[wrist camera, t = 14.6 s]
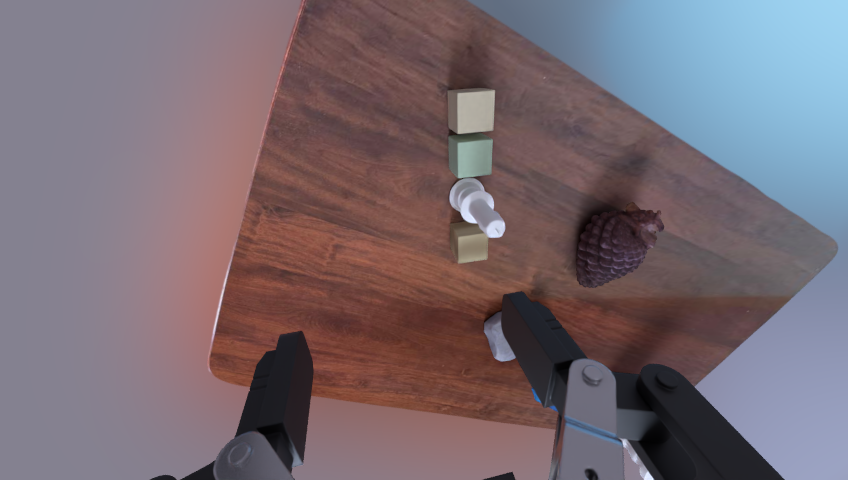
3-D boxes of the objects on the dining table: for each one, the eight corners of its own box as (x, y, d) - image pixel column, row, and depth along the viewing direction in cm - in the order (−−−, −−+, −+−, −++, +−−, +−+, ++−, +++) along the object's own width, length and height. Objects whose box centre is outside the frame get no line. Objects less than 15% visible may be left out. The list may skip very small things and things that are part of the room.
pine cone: (603, 278, 61) (605, 316, 54) (553, 254, 62) (549, 288, 55) (675, 204, 50) (691, 239, 42) (613, 177, 51) (617, 206, 43)
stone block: (477, 313, 62) (490, 354, 65) (485, 326, 57) (499, 369, 60) (534, 290, 62) (544, 331, 65) (547, 301, 58) (558, 345, 61)
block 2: (448, 135, 43) (457, 142, 39) (480, 132, 44) (492, 139, 40) (448, 168, 45) (457, 178, 41) (479, 165, 46) (491, 174, 42)
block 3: (449, 223, 49) (458, 236, 46) (478, 219, 50) (488, 232, 46) (450, 248, 52) (458, 263, 48) (477, 244, 52) (487, 259, 48)
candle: (490, 195, 48) (527, 231, 38) (463, 218, 49) (491, 259, 39) (470, 169, 46) (504, 200, 36) (441, 194, 47) (466, 231, 37)
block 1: (447, 90, 40) (457, 93, 37) (481, 87, 41) (495, 90, 37) (448, 127, 43) (457, 134, 39) (480, 124, 43) (493, 130, 39)
